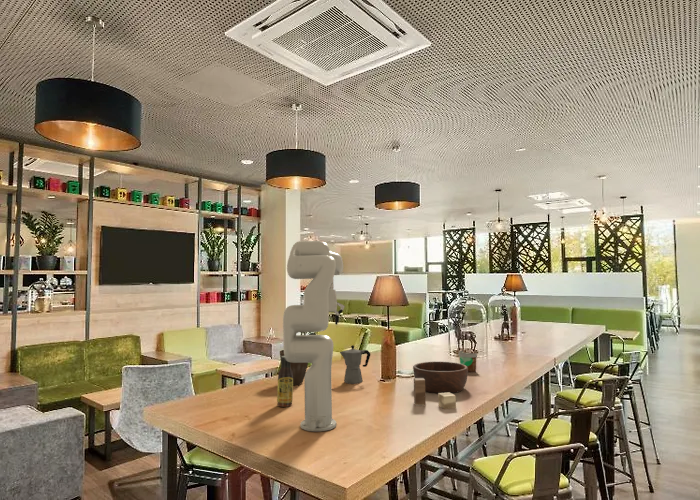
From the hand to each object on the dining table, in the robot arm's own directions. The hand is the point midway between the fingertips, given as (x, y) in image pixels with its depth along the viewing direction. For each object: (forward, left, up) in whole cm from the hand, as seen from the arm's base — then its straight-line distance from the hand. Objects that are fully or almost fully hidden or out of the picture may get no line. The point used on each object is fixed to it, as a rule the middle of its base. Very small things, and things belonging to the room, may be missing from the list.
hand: (325, 324), depth 205 cm
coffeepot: (+23, -14, -31) cm, 41 cm away
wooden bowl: (+6, -53, -31) cm, 62 cm away
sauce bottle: (-17, +16, -31) cm, 39 cm away
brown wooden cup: (+22, +16, -31) cm, 42 cm away
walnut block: (-19, -39, -31) cm, 53 cm away
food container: (+44, -75, -31) cm, 92 cm away
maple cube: (-24, -49, -31) cm, 62 cm away
